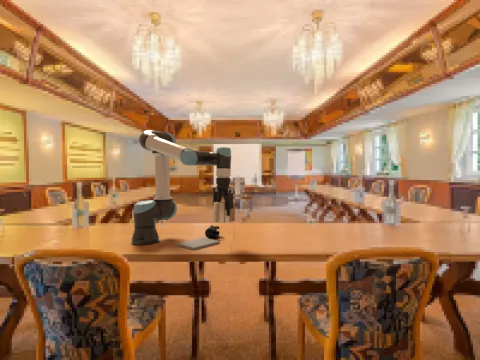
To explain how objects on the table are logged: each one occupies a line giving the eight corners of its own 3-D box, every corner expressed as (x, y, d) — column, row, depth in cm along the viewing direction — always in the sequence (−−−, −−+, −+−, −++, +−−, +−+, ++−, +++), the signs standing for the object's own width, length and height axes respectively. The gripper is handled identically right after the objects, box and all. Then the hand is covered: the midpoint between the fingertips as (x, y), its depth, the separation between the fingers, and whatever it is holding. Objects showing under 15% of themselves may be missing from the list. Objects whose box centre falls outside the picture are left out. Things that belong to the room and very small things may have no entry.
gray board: (177, 245, 157) (177, 243, 157) (203, 239, 171) (203, 237, 170) (193, 250, 148) (193, 247, 148) (219, 243, 161) (219, 241, 161)
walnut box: (226, 219, 159) (213, 221, 151) (227, 201, 158) (213, 202, 151) (234, 220, 154) (220, 223, 147) (235, 202, 154) (221, 203, 147)
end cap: (208, 235, 181) (208, 225, 181) (219, 235, 180) (219, 225, 180) (205, 239, 171) (204, 228, 171) (216, 239, 170) (216, 228, 170)
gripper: (241, 177, 147) (240, 223, 148) (216, 176, 160) (215, 218, 161) (231, 177, 142) (230, 224, 143) (206, 176, 155) (205, 219, 156)
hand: (222, 221), depth 152 cm, fingers closed on walnut box, 6 cm apart
